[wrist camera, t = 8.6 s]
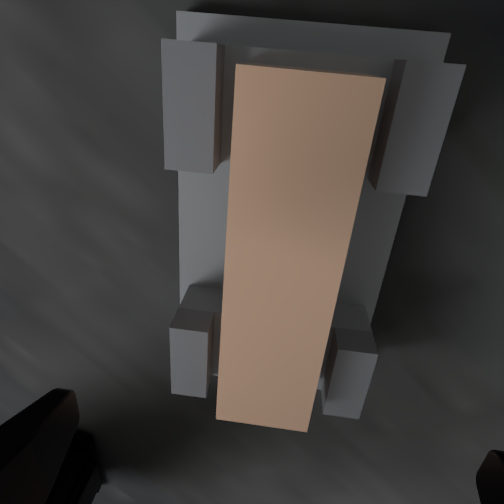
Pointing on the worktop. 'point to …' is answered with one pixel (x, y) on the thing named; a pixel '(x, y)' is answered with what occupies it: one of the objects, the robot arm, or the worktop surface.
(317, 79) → the clay bar
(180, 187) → the grey cradle stand
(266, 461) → the worktop surface
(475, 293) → the worktop surface
